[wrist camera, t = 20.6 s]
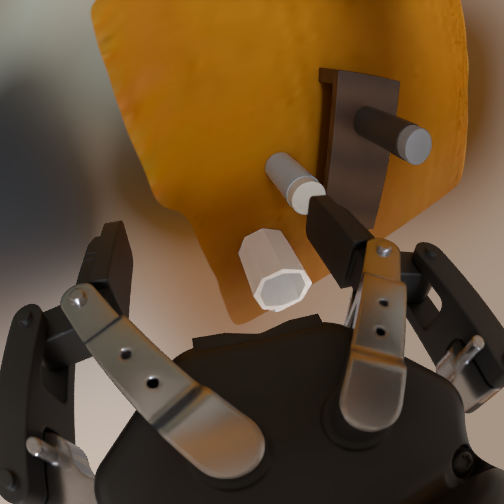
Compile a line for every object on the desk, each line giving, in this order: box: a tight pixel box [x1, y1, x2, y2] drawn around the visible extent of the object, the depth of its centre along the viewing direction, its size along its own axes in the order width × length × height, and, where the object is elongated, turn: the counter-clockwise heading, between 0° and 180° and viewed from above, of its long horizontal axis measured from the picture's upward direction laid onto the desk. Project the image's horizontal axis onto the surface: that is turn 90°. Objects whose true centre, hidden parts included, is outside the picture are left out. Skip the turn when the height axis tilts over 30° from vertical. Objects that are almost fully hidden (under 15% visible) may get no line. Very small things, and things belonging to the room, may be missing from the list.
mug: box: [238, 228, 312, 312], centre depth 45 cm, size 12×9×10 cm
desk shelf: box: [319, 68, 400, 230], centre depth 37 cm, size 24×10×5 cm, turn 0°
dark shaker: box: [354, 106, 432, 165], centre depth 28 cm, size 4×4×10 cm
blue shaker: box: [265, 152, 326, 215], centre depth 35 cm, size 4×4×10 cm
